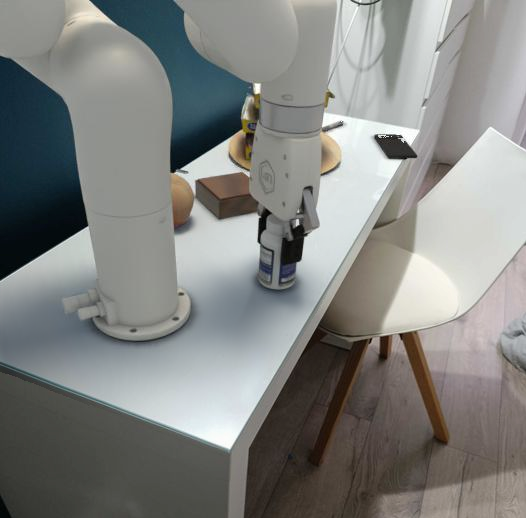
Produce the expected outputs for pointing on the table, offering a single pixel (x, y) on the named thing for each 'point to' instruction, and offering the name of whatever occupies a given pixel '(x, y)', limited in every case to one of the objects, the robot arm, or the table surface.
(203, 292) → the table surface
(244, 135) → the boxes on round tray
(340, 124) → the pen
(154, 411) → the table surface
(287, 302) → the table surface
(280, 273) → the pill bottle
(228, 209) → the block
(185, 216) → the fruit
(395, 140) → the smartphone
